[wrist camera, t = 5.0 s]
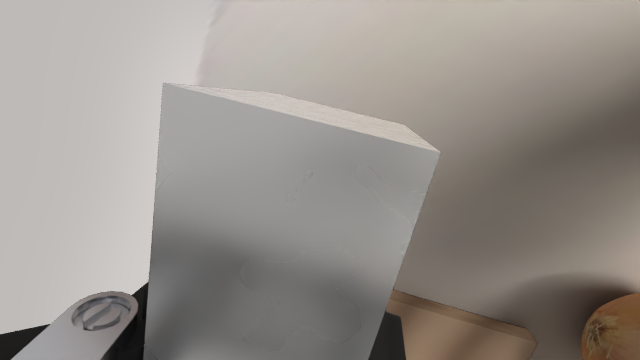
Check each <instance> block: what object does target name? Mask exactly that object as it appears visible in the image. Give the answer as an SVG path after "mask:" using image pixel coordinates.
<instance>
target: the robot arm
mask: <svg viewBox="0 0 640 360" xmlns="http://www.w3.org/2000/svg"><path fill="white" fill-rule="evenodd" d="M148 286H149V282H148V283H146V284H145V285H144V286H143V287H141V288H140V289H139V290H138V291H136V292H135V293H134V294H133V295H130V294H127V293H123V292H114V291H110V292H101V293H97V294H94V295H90V296H88V297H86V298H83V299H81V300H80V301H78V302H76V303H75V304H74V305H72V306H71V307H70V308H68V309H67V310H66V311H65V312H64V313H63V314H62V315H61V316H59V317H58V318H57V319H56V320H55V321H54V322H53V323H52V324H48V325H44V326H39V327H34V328H29V329H24V330H20V331H15V332H10V333H5V334H0V360H143V357H144V343H145V329H146V315H147V301H148ZM368 360H406V354H405V346H404V338H403V330H402V322H401V317H400V316H398V315H395V314H392V313H388V312H386V310H385V313H384V316H383V318H382V321H381V324H380V327H379V330H378V333H377V336H376V338H375V341H374V344H373V347H372V350H371V353H370V355H369V358H368Z"/></svg>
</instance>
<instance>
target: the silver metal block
mask: <svg viewBox="0 0 640 360" xmlns="http://www.w3.org/2000/svg"><path fill="white" fill-rule="evenodd" d="M440 153H441V152H440V151H438V150H437V149H436V148H434V147H433V146H432V145H430V144H429V143H428V142H426V141H425V140H424V139H422V138H421V137H420V136H418V135H417V134H416V133H414V132H413V131H412V130H410V129H409V128H408V127H406V126H405V125H404V124H399V123H395V122H391V121H387V120H383V119H379V118H375V117H371V116H367V115H362V114H358V113H354V112H350V111H346V110H342V109H338V108H334V107H330V106H326V105H321V104H317V103H313V102H309V101H305V100H301V99H297V98H293V97H289V96H284V95H280V94H276V93H270V92H259V91H248V90H237V89H225V88H214V87H203V86H192V85H181V84H170V83H163V90H162V104H161V118H160V132H159V147H158V161H157V174H156V189H155V202H154V216H153V230H152V244H151V259H150V272H149V286H148V301H147V315H146V329H145V343H144V357H143V360H368V358H369V355H370V353H371V350H372V347H373V344H374V341H375V338H376V336H377V333H378V330H379V327H380V324H381V321H382V318H383V316H384V313H385V310H386V307H387V304H388V301H389V299H390V296H391V293H392V290H393V287H394V284H395V281H396V279H397V276H398V273H399V270H400V267H401V264H402V262H403V259H404V256H405V253H406V250H407V247H408V244H409V242H410V239H411V236H412V233H413V230H414V227H415V225H416V222H417V219H418V216H419V213H420V210H421V207H422V205H423V202H424V199H425V196H426V193H427V190H428V188H429V185H430V182H431V179H432V176H433V173H434V170H435V168H436V165H437V162H438V159H439V156H440Z"/></svg>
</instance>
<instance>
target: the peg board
mask: <svg viewBox="0 0 640 360" xmlns="http://www.w3.org/2000/svg"><path fill="white" fill-rule="evenodd" d="M386 312H388V313H392V314H395V315H398V316H400V317H401V322H402V330H403V338H404V346H405V354H406V360H529V358H530V356H531V354H532V352H533V351H534V349H535V347H536V345H537V342H536V340H535V339H534V337H533V336H532V335H531V333H530V332H529V330H528V329H525V328H522V327H518V326H515V325H511V324H508V323H505V322H501V321H498V320H494V319H491V318H487V317H484V316H481V315H477V314H474V313H470V312H467V311H463V310H460V309H457V308H453V307H450V306H446V305H443V304H439V303H436V302H433V301H429V300H426V299H422V298H419V297H415V296H412V295H409V294H405V293H402V292H398V291H395V290H392V293H391V296H390V299H389V301H388V304H387V307H386Z"/></svg>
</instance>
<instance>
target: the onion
mask: <svg viewBox="0 0 640 360" xmlns="http://www.w3.org/2000/svg"><path fill="white" fill-rule="evenodd" d="M581 352H582V358H583V360H640V293H636V294H631V295H627V296H623V297H620V298H617V299H615V300H612V301H610V302H608V303H606V304H604V305H602V306H601V307H599V308H598V309H597V310H596V311H595V312H594V313H593V314H592V315H591V316H590V318H589V319H588V321H587V323H586V325H585V327H584V330H583V334H582V342H581Z"/></svg>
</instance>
